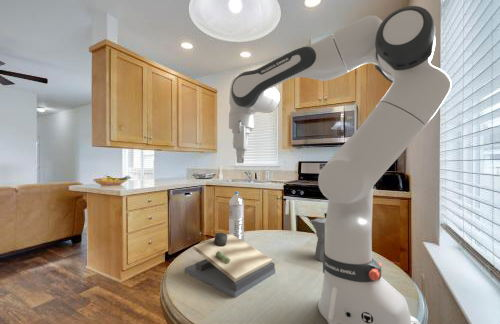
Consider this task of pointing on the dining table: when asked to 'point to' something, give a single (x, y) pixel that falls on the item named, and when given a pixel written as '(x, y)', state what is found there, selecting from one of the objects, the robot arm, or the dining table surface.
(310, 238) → the dining table surface
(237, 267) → the plate
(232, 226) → the water bottle
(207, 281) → the base
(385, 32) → the robot arm
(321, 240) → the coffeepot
